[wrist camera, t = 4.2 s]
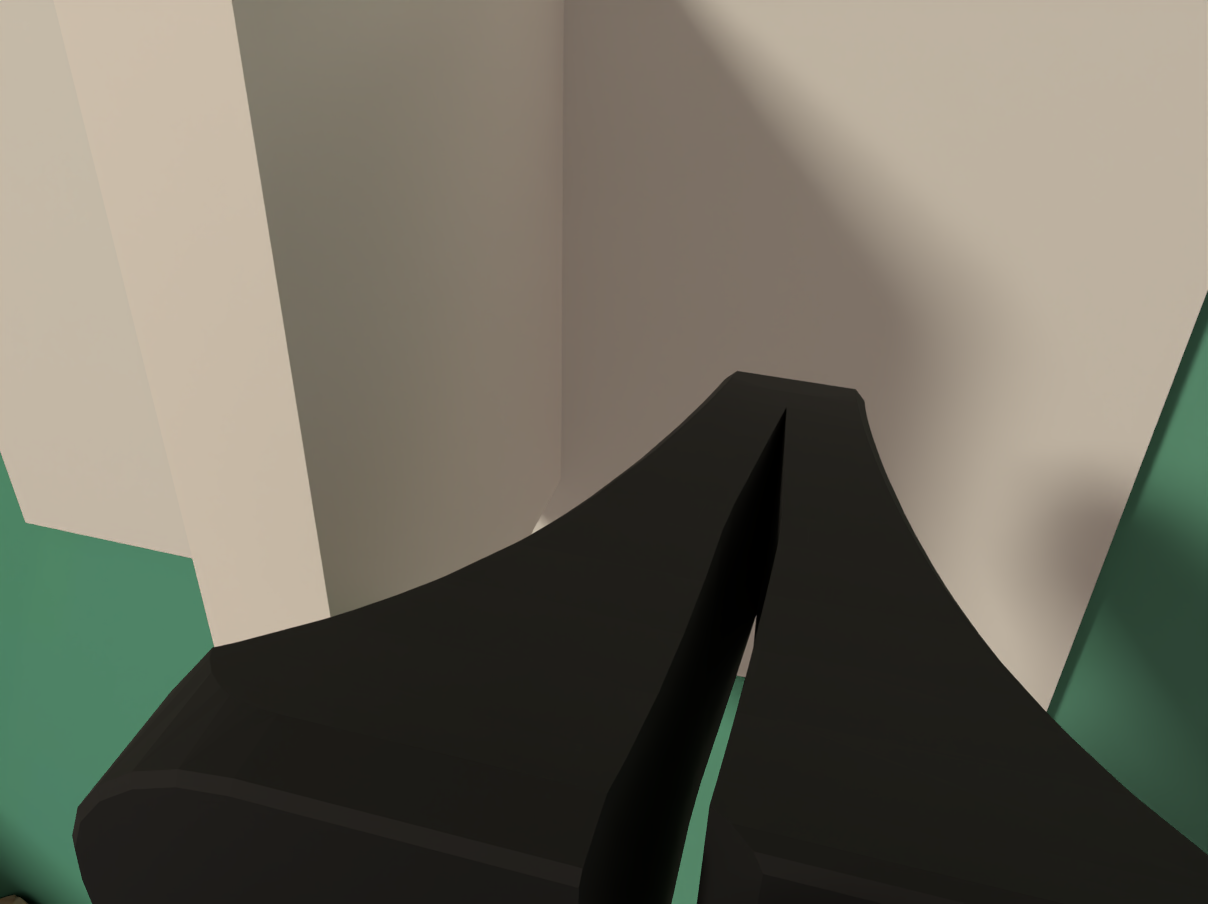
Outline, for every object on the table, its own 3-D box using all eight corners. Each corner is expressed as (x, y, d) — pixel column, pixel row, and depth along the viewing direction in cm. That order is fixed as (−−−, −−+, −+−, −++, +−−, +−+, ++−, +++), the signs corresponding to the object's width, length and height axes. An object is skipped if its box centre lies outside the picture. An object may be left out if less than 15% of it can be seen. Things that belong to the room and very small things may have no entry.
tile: (564, -151, 14) (222, -57, 7) (560, 477, 19) (366, 843, 13) (441, -159, 14) (10, -73, 8) (473, 461, 20) (241, 810, 13)
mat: (1535, -597, 10) (1549, -605, 10) (1034, 727, 20) (1035, 739, 20) (-334, -546, 14) (-356, -551, 14) (34, 514, 24) (26, 522, 24)
